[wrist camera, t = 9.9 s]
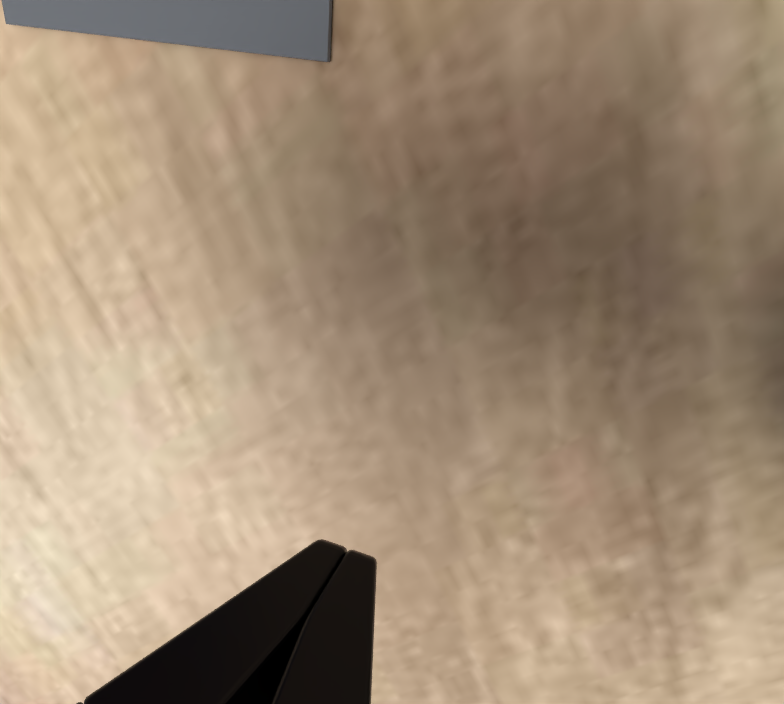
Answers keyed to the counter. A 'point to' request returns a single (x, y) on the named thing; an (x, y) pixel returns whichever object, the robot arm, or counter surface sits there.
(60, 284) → the counter surface
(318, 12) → the mat
